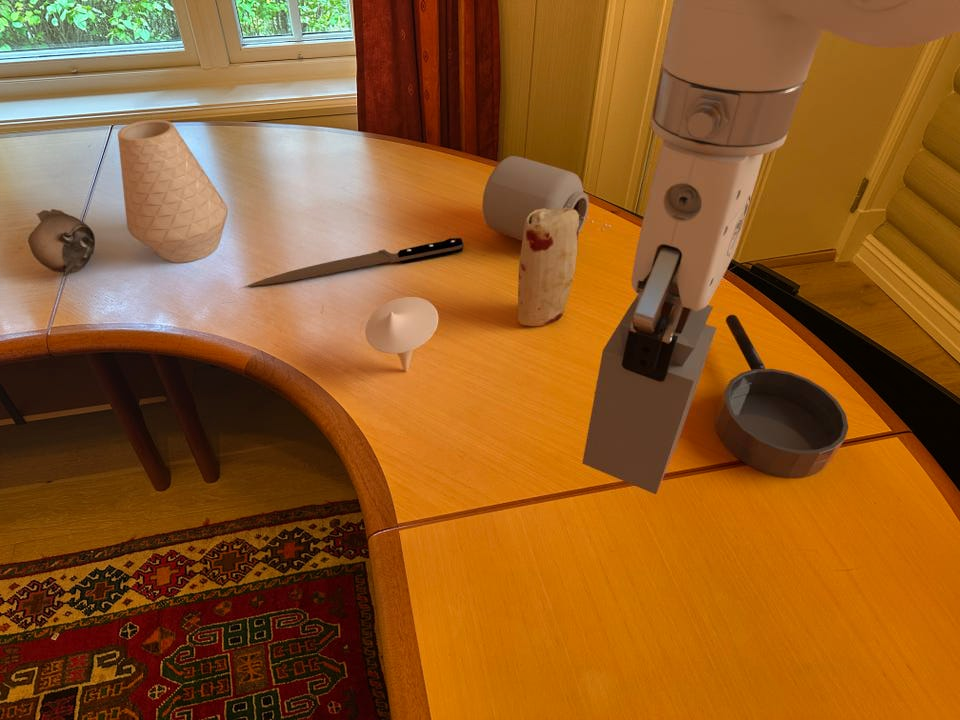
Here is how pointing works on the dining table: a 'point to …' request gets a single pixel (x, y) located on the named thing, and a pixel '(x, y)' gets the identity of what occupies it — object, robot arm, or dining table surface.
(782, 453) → the pan
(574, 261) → the food model
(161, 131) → the vase
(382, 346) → the white spinning top
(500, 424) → the dining table surface
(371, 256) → the steak knife
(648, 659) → the dining table surface
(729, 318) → the pan handle
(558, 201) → the jar
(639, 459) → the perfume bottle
